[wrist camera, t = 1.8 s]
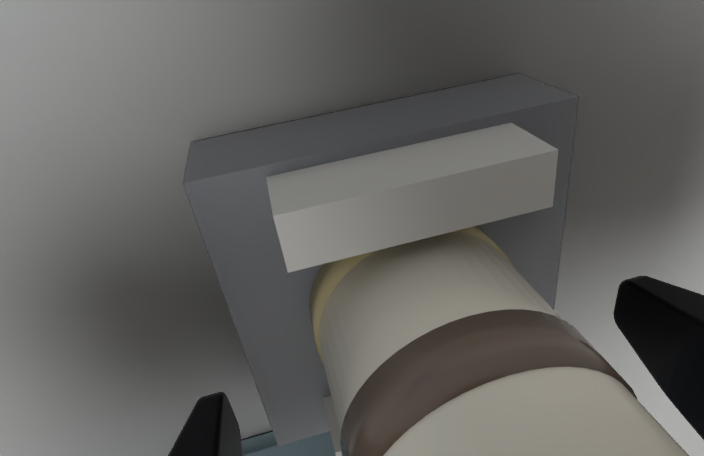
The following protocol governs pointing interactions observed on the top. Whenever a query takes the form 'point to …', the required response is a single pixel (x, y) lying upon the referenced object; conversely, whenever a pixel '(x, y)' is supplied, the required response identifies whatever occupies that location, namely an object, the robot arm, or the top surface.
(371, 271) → the fuse
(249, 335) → the fuse block
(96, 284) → the top surface
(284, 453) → the tray
